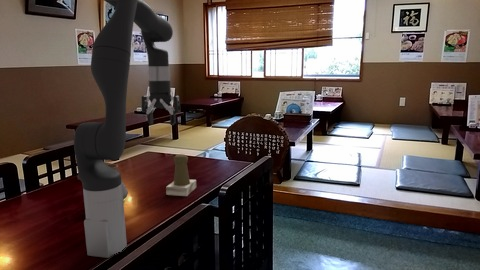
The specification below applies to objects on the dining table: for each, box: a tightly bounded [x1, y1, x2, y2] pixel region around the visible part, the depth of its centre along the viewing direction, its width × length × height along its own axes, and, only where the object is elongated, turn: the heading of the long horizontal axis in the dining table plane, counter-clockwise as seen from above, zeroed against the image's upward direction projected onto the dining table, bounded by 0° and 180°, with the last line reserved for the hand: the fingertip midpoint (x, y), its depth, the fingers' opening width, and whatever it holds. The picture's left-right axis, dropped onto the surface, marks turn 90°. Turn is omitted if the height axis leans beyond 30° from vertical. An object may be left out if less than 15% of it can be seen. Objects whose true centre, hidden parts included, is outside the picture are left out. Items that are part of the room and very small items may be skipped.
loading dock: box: [165, 178, 197, 197], centre depth 137 cm, size 10×8×3 cm
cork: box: [173, 153, 190, 186], centre depth 136 cm, size 6×6×11 cm
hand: (161, 124), depth 132 cm, fingers open, 8 cm apart
